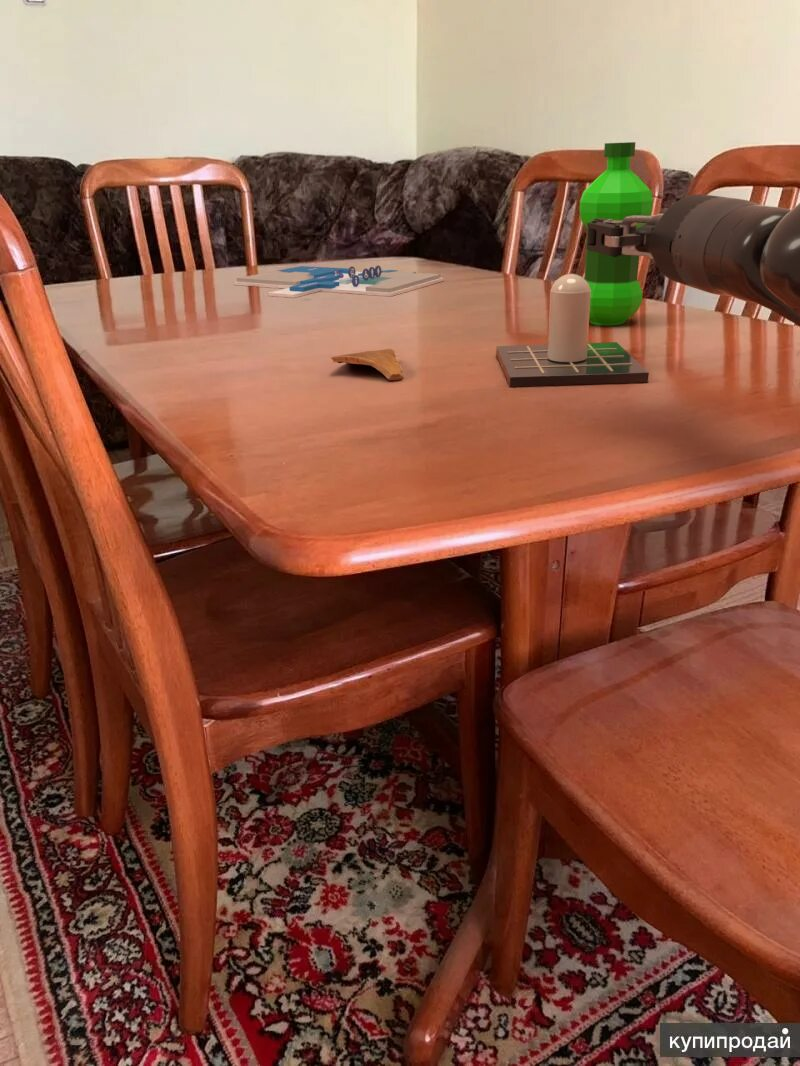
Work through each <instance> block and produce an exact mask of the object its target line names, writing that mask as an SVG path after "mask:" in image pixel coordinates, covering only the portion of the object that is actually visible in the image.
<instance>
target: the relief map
mask: <svg viewBox="0 0 800 1066" xmlns="http://www.w3.org/2000/svg"><path fill="white" fill-rule="evenodd" d="M444 281H445V277H441V273H430V272H429V273H427V272H423V273H418V272H417V271H410V270H397V269H387V270H384V269H383V270H382V267H381V266H380V265H376V266H375V267H373V266H371V267H369V268H364V269H363V270H362V271H356V268H355V267H354V266H350V267H349V268H348V267H326V266H309V265H307V266H306V265H305V266H303V265H299V266H294V267H289V268H284V269H283V268H282V269H278V270H273V271H267V272H264V273H263V272H262V273H258V274H257V273H256V274H251V275H247V276H240V277H236V281H233V286H243V287H246V286H247V287H256V288H257V287H258V288H259V287H260V288H274V289H278V290H274V291H269V292H267V294H268V297H279V298H292V299H295V298H299V297H303V296H307V295H310V294H314V293H319V292H325V293H326V292H327V293H339V294H353V295H366V296H368V295H369V296H378V297H380V296H381V297H393V296H397V295H400V294H405V293H407V292H411V291H414V290H418V289H420V288H424V287H427V286H431V285H434V284H439V283H440V282H444Z"/></svg>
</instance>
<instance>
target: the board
mask: <svg viewBox="0 0 800 1066" xmlns="http://www.w3.org/2000/svg"><path fill="white" fill-rule="evenodd" d="M495 350H496V351H495V355H496V358H497V359H498V362H499V365H500V367H501V369H502V371H503V374H504V376H505V379H506V382H507V383H508V385H509V387H510V388H517V387H518V388H520V387H521V388H523V387H549V386H551V387H552V386H553V387H554V386H580V385H581V386H582V385H583V386H585V385H609V384H610V385H612V384H613V385H615V384H640V383H642V384H644V383H647V384H648V383H649V376H650V372H649V371H648V370H647V369H646V368H645V367H644V366H643V365H642V364H641V363H640V362H638V361H637V360H636V359H635V358H634V357H633V356H632V355H631V354H630V353H629V352H628V351H627V350H626V349H625V348H623V347H622V345H621V344H619V342H617V341H615V342H614V341H612V342H611V341H610V342H607V341H606V342H588V347H587V358H586V359H585V360H583V361H578V362H557V361H552V360H550V359H548V357H547V356H548V343H546V344H519V345H518V344H517V345H496V348H495Z"/></svg>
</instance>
